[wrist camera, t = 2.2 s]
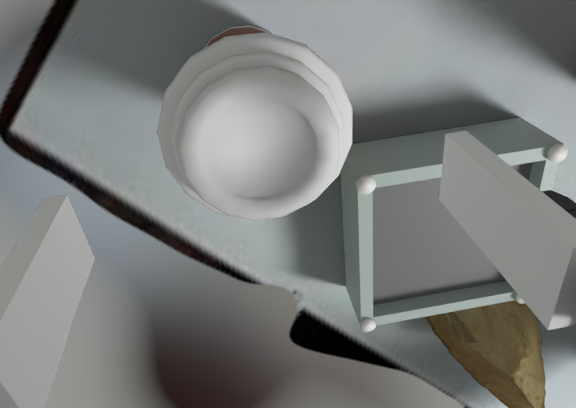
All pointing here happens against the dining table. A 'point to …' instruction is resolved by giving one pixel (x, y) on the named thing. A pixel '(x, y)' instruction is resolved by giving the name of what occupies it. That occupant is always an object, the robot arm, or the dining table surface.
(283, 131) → the coffee cup
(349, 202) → the pale green square tray
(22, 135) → the dining table surface
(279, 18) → the dining table surface
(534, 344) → the rock
